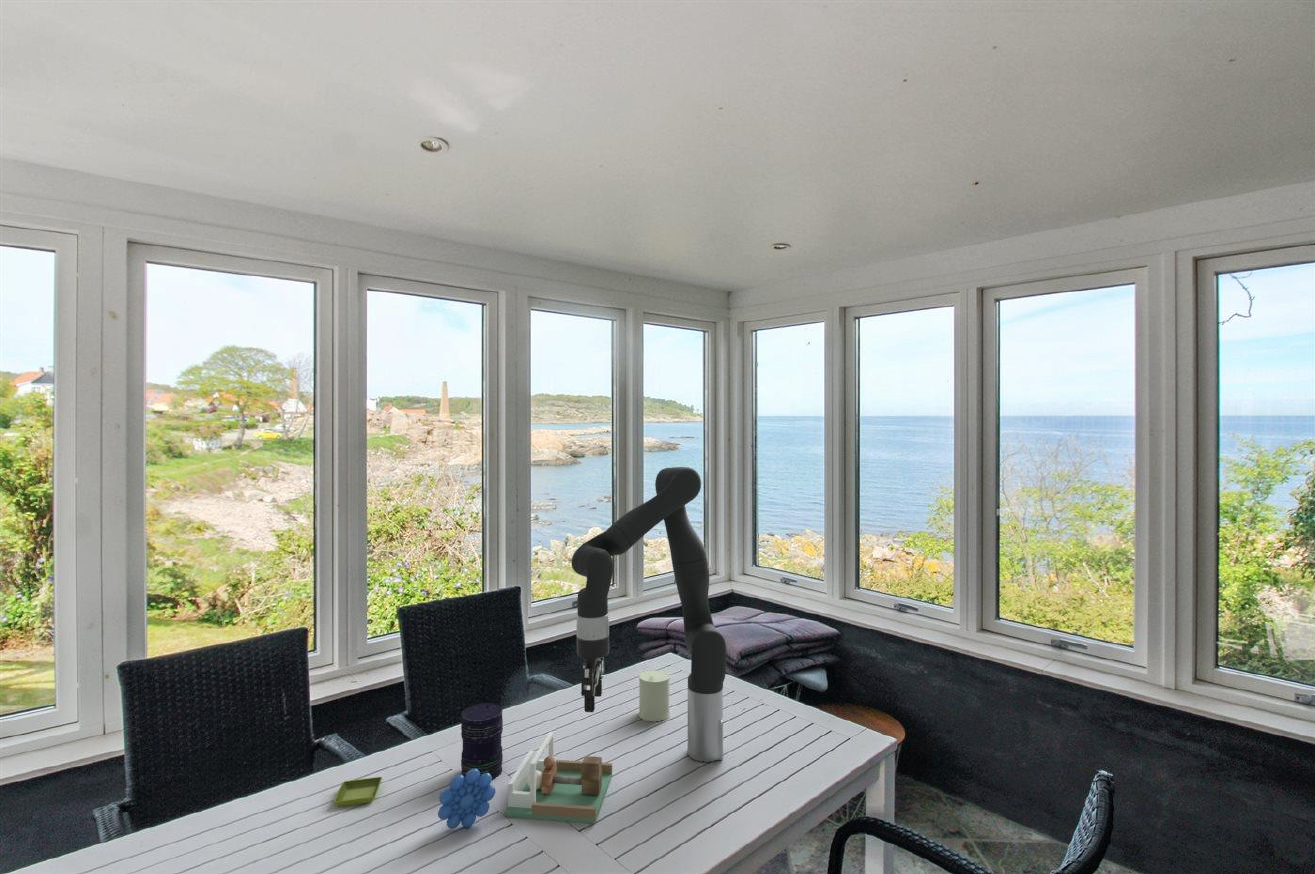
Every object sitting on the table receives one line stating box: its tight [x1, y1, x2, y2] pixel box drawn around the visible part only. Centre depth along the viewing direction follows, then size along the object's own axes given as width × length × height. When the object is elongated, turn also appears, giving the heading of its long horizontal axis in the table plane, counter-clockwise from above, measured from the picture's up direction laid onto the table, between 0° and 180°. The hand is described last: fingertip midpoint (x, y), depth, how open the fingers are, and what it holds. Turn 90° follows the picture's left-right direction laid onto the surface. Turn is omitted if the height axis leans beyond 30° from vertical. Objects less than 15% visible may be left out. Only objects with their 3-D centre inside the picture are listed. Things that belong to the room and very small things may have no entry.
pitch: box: [504, 731, 613, 825], centre depth 143 cm, size 20×19×11 cm
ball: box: [527, 770, 542, 790], centre depth 144 cm, size 4×4×4 cm
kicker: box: [542, 755, 603, 795], centre depth 142 cm, size 13×5×7 cm, turn 83°
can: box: [638, 670, 671, 723], centre depth 185 cm, size 9×9×12 cm
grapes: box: [437, 768, 496, 830], centre depth 132 cm, size 12×7×12 cm, turn 108°
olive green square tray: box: [333, 776, 383, 807], centre depth 142 cm, size 9×9×2 cm
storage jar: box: [460, 702, 504, 781], centre depth 152 cm, size 10×10×15 cm
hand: (593, 703), depth 144 cm, fingers open, 8 cm apart
